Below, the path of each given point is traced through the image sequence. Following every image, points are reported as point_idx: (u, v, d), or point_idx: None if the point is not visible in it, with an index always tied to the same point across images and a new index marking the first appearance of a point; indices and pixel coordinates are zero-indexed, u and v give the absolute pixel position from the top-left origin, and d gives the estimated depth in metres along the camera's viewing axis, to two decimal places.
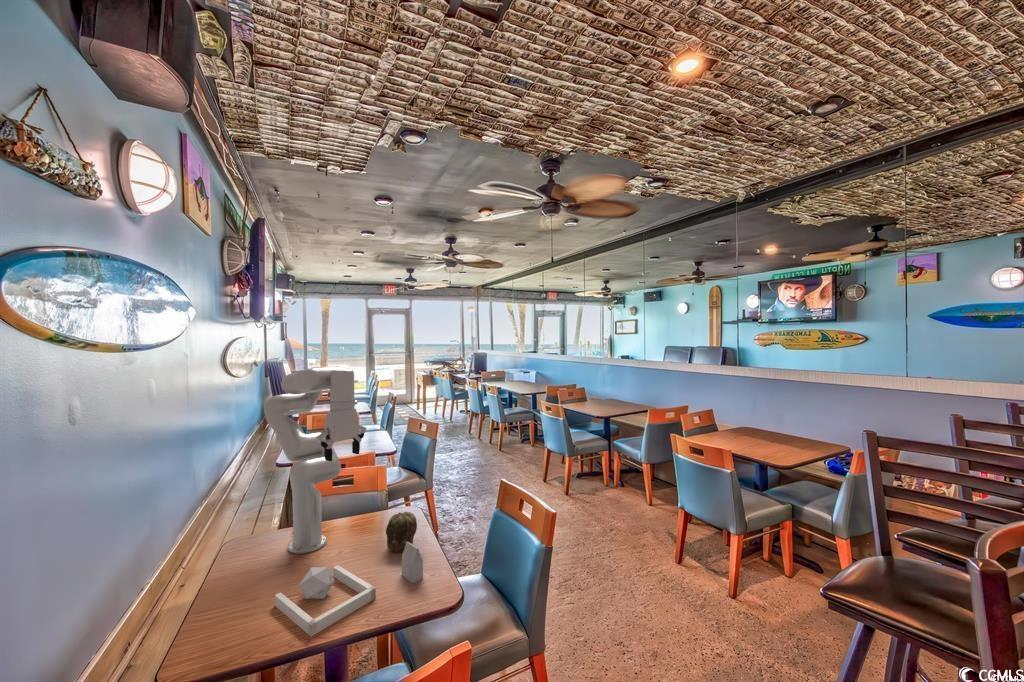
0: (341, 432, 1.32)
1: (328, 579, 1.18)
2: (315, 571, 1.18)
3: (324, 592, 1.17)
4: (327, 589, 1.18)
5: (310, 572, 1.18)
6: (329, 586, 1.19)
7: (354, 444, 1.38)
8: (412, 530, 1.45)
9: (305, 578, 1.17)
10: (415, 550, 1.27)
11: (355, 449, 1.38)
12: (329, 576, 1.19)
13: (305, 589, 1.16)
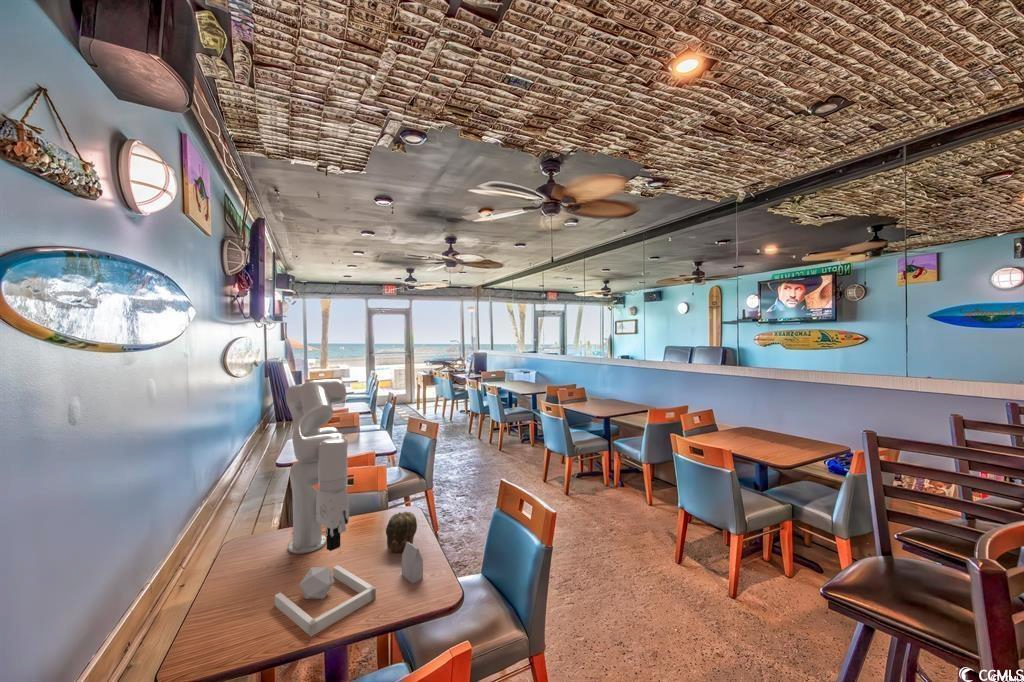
0: None
1: (328, 579, 1.18)
2: (314, 571, 1.18)
3: (324, 592, 1.17)
4: (327, 589, 1.18)
5: (310, 572, 1.18)
6: (329, 586, 1.19)
7: None
8: (412, 530, 1.45)
9: (305, 578, 1.17)
10: (415, 550, 1.27)
11: None
12: (329, 576, 1.19)
13: (305, 589, 1.16)
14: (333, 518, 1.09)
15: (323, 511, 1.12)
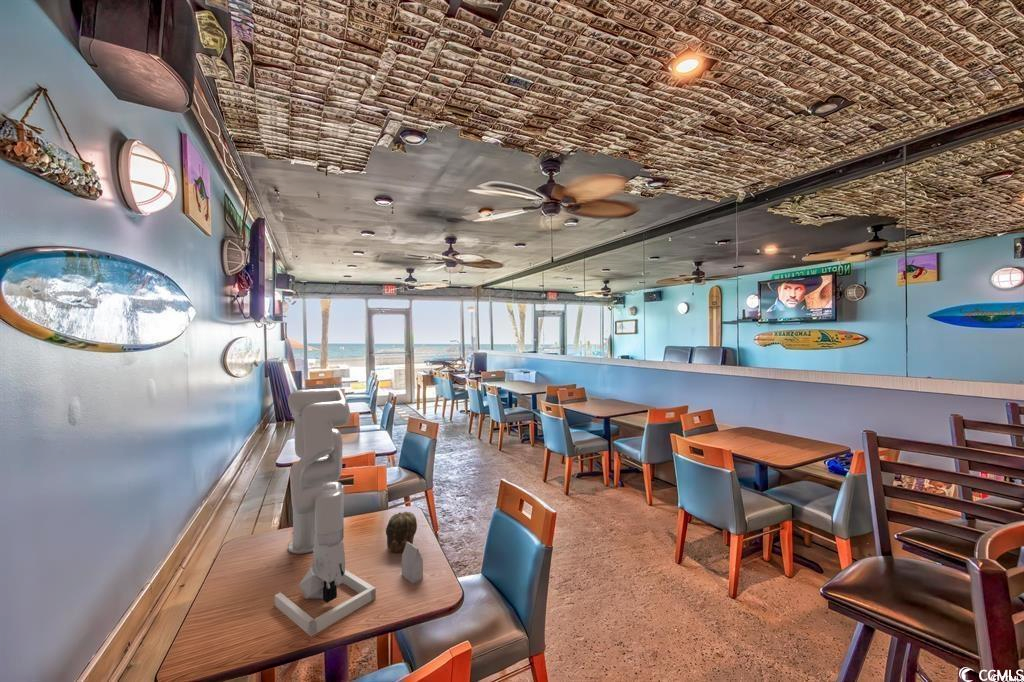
0: None
1: None
2: None
3: None
4: None
5: (309, 572, 1.19)
6: None
7: None
8: (412, 530, 1.45)
9: (305, 578, 1.17)
10: (415, 550, 1.27)
11: None
12: None
13: (305, 589, 1.16)
14: (329, 572, 1.10)
15: (319, 563, 1.13)
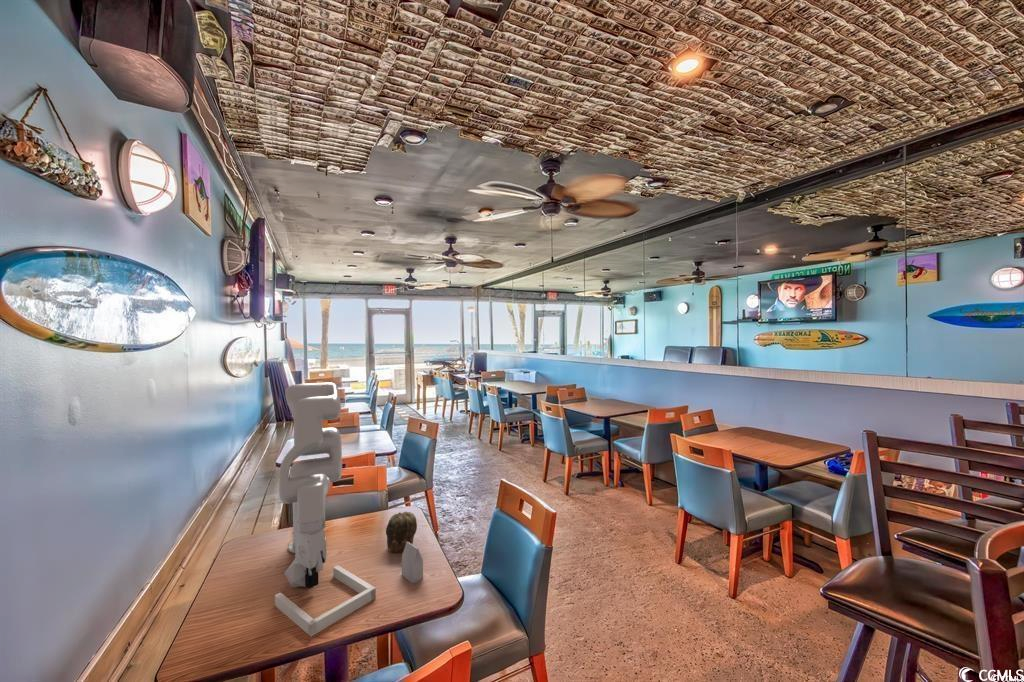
0: None
1: None
2: None
3: None
4: None
5: (294, 561, 1.24)
6: None
7: None
8: (412, 530, 1.45)
9: (289, 567, 1.23)
10: (415, 550, 1.27)
11: None
12: None
13: (289, 577, 1.21)
14: (311, 558, 1.16)
15: (302, 551, 1.18)
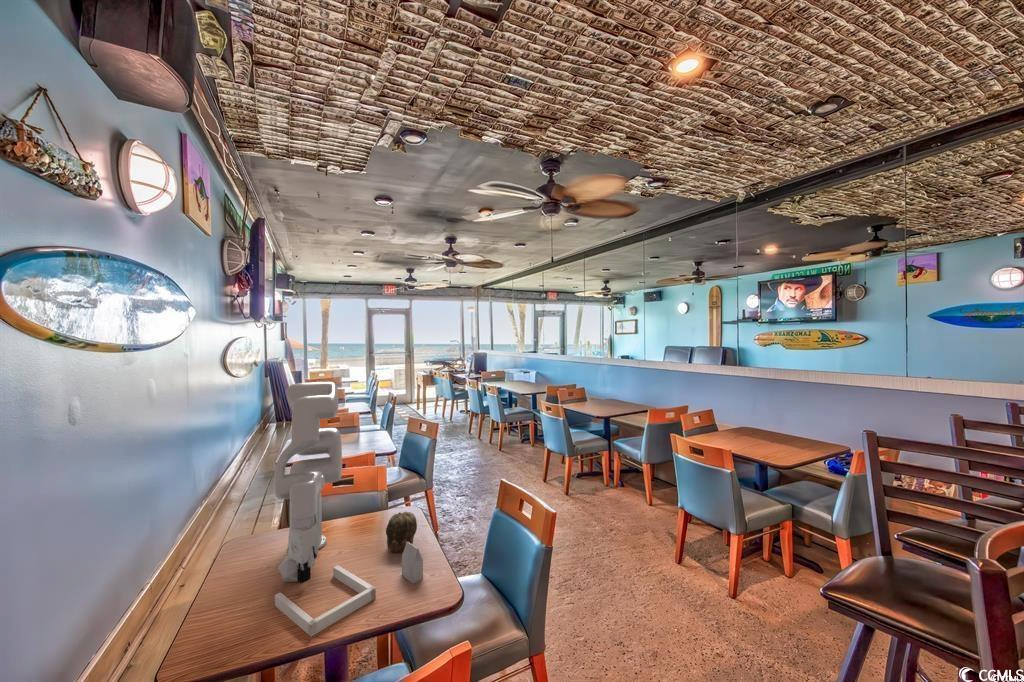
0: None
1: None
2: None
3: None
4: None
5: (287, 556, 1.27)
6: None
7: None
8: (412, 530, 1.45)
9: (282, 562, 1.26)
10: (415, 550, 1.27)
11: None
12: None
13: (282, 571, 1.24)
14: (302, 554, 1.18)
15: (294, 547, 1.21)
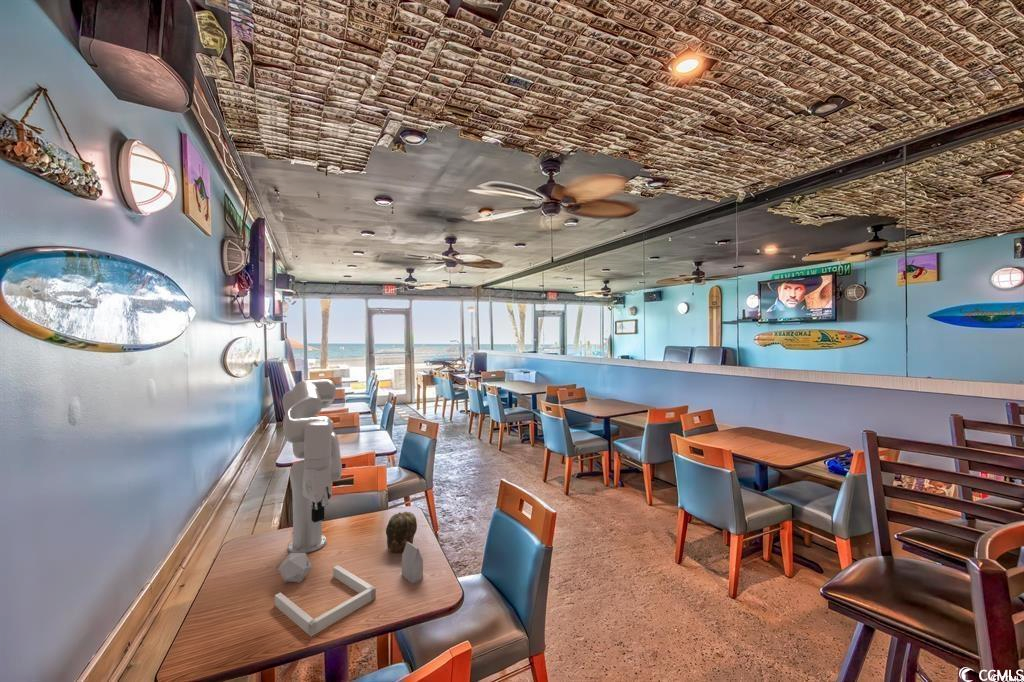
0: None
1: (304, 564, 1.26)
2: (292, 556, 1.27)
3: (300, 576, 1.25)
4: (303, 573, 1.26)
5: (288, 557, 1.27)
6: (306, 571, 1.27)
7: None
8: (412, 530, 1.45)
9: (283, 562, 1.26)
10: (415, 550, 1.27)
11: None
12: (306, 561, 1.27)
13: (283, 572, 1.24)
14: (316, 493, 1.20)
15: (308, 486, 1.23)
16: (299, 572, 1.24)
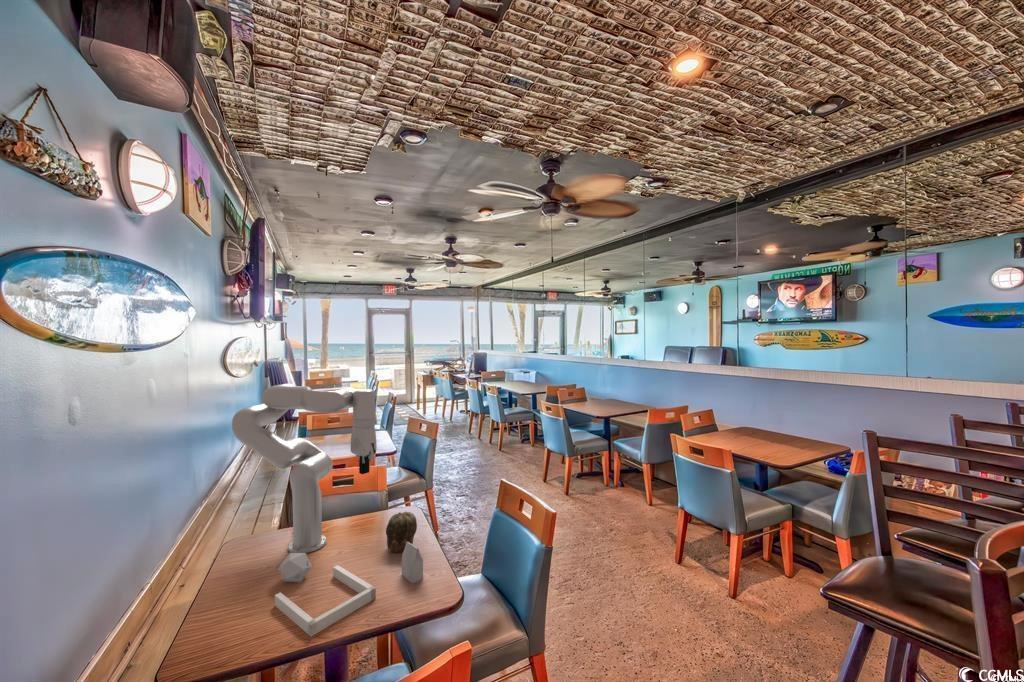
0: None
1: (304, 564, 1.26)
2: (292, 556, 1.27)
3: (300, 576, 1.25)
4: (303, 573, 1.26)
5: (288, 557, 1.27)
6: (306, 571, 1.27)
7: None
8: (412, 530, 1.45)
9: (283, 562, 1.26)
10: (415, 550, 1.27)
11: None
12: (306, 561, 1.27)
13: (282, 572, 1.24)
14: (365, 447, 1.43)
15: (357, 443, 1.45)
16: (299, 572, 1.24)
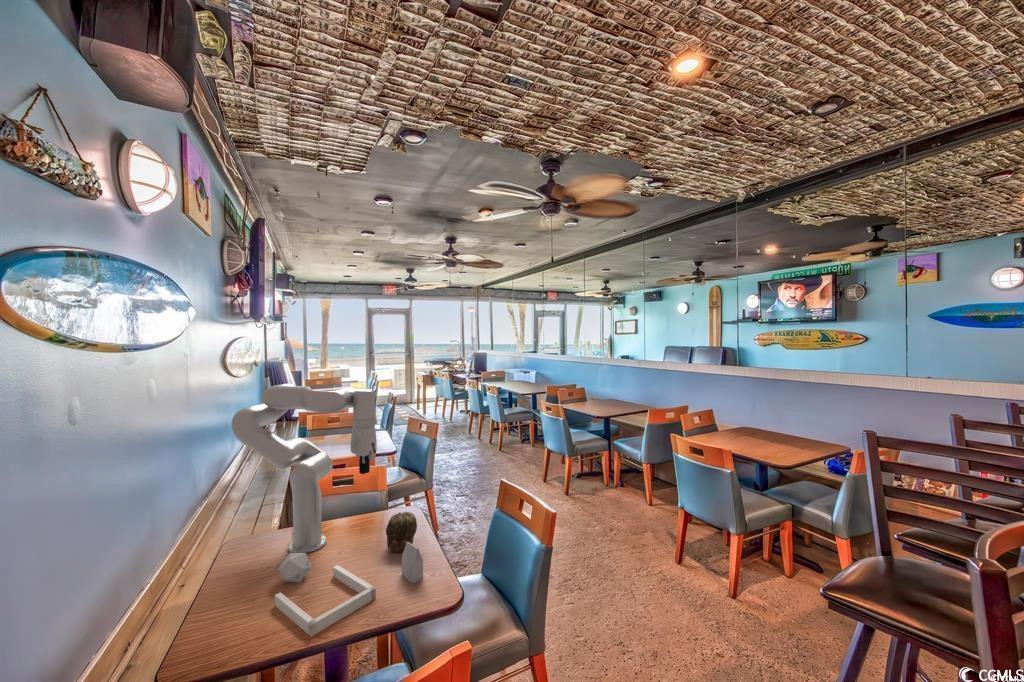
0: None
1: (304, 564, 1.26)
2: (292, 556, 1.27)
3: (300, 576, 1.25)
4: (303, 573, 1.26)
5: (288, 557, 1.27)
6: (305, 571, 1.27)
7: None
8: (412, 530, 1.45)
9: (283, 562, 1.26)
10: (415, 550, 1.27)
11: None
12: (306, 561, 1.27)
13: (282, 572, 1.24)
14: (365, 447, 1.43)
15: (357, 443, 1.45)
16: (299, 572, 1.24)
